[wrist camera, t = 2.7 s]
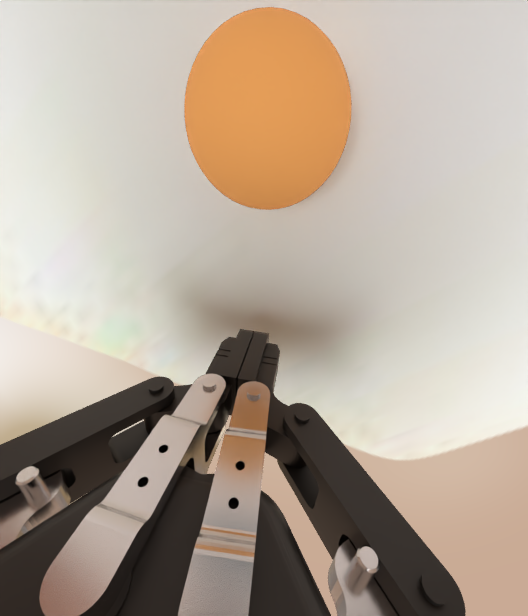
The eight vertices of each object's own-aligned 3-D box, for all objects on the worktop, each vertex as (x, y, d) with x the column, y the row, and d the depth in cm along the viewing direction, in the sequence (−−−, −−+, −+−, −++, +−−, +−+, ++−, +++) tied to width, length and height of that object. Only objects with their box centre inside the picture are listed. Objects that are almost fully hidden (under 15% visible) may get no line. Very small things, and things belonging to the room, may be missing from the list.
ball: (215, 41, 11) (135, -44, 6) (359, 47, 10) (392, -42, 6) (216, 192, 14) (162, 213, 9) (330, 204, 13) (336, 234, 8)
